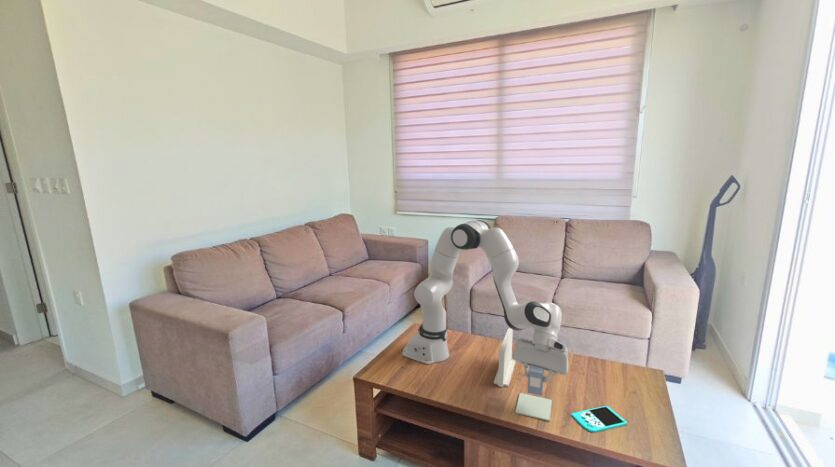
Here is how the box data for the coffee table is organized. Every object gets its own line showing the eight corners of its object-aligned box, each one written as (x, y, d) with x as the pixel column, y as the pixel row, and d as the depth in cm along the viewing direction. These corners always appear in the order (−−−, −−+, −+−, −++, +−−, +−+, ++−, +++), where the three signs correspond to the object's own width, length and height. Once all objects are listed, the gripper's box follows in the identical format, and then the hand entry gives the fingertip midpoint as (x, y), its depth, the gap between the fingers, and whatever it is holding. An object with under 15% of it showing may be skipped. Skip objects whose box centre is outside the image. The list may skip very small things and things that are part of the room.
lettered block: (527, 393, 138) (528, 371, 137) (529, 385, 143) (530, 363, 141) (541, 396, 137) (542, 373, 135) (543, 388, 141) (544, 366, 139)
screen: (493, 385, 155) (494, 349, 152) (502, 358, 175) (504, 327, 172) (507, 388, 153) (509, 352, 150) (515, 361, 173) (517, 329, 169)
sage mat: (515, 413, 138) (515, 411, 138) (519, 394, 149) (519, 392, 149) (549, 421, 134) (549, 420, 134) (551, 401, 145) (551, 399, 145)
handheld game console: (570, 415, 137) (570, 412, 137) (606, 407, 142) (607, 404, 141) (589, 434, 128) (589, 431, 128) (627, 425, 132) (628, 422, 132)
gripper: (515, 334, 148) (506, 368, 142) (570, 347, 137) (563, 385, 131) (518, 340, 152) (510, 373, 146) (572, 353, 141) (565, 390, 135)
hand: (535, 379), depth 138 cm, fingers closed on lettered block, 5 cm apart
